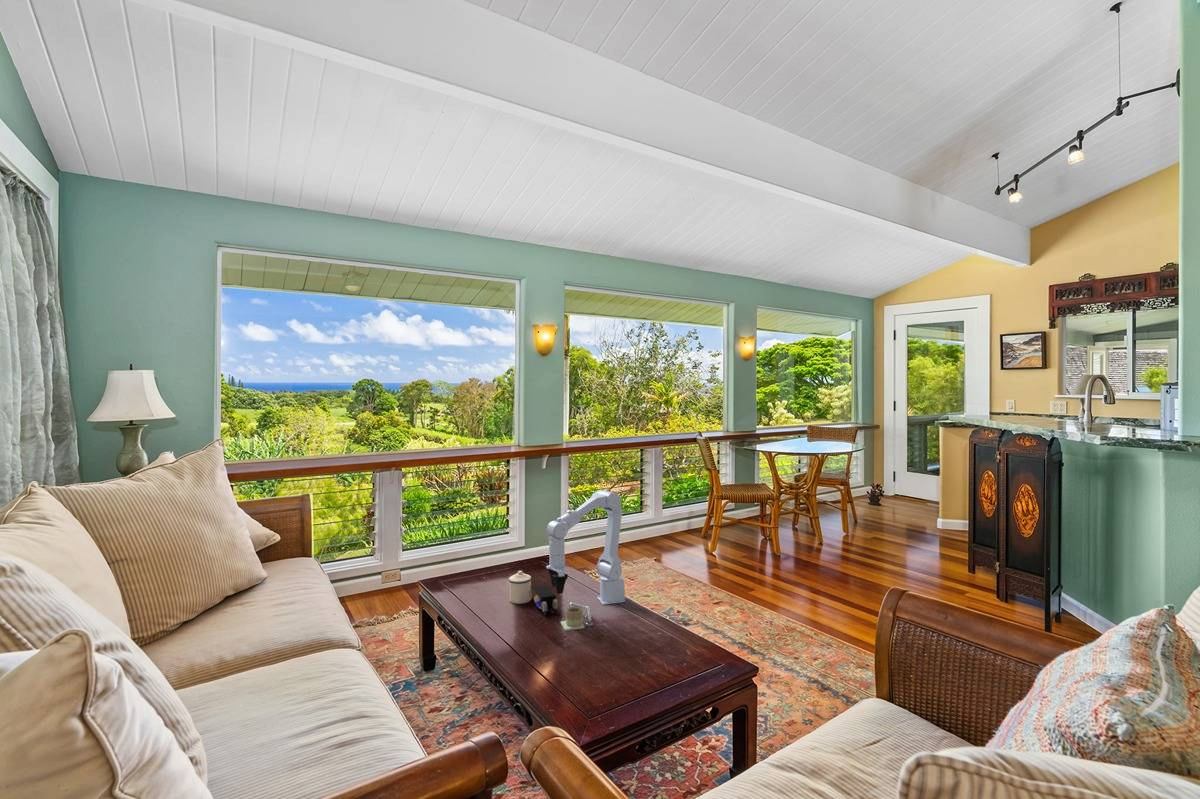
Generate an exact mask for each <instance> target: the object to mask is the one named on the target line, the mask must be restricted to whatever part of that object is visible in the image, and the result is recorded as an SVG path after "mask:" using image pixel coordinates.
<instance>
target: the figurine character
mask: <svg viewBox="0 0 1200 799" xmlns="http://www.w3.org/2000/svg"><path fill="white" fill-rule="evenodd" d="M531 590H533V592H535V595H534V597H533V600H534V604H536V605H535V606H536V607H538V608H539V610H540V611H542V612H543V614H544V615H545V616H547V615H548V614H547V612H550V613H551V615H552V614H554V613H555V611H553V609H554V610H557V609H559V602H558V599H556V597H557V595H556V594H555V593H554V592H553V591H552V589H551V588H550V587H549V585H547V584H543V585H542V584H541V585H536V586H535V585H534V586H531Z"/></svg>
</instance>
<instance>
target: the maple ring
mask: <svg viewBox="0 0 1200 799" xmlns="http://www.w3.org/2000/svg"><path fill="white" fill-rule="evenodd" d="M565 621H566V624H567V626H570V627H578V626H580V625H582V624H583V608H580V607H574V606H573V607H570V606H569V607H568V608H566V609H565Z"/></svg>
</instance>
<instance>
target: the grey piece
mask: <svg viewBox="0 0 1200 799" xmlns="http://www.w3.org/2000/svg"><path fill="white" fill-rule="evenodd" d="M569 607H580V608H581V609H582V610H586V611H585V612H586V613H585V614H584V615H583V618H584V619H586V621H585V622H584V626H586V627H592V626H594V625H595V622H594V621H592V618H593V614H592V613H591V606H590V605H584V604H579V603H574V602H569Z"/></svg>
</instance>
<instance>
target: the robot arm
mask: <svg viewBox="0 0 1200 799" xmlns="http://www.w3.org/2000/svg"><path fill="white" fill-rule="evenodd" d="M621 503H622V497H621V496H620V495H619V494H618V493H617V492H615V491H614V492H612V491H608V490H604V489H598V490H597V491H595V492H593V493H592V494H591V496H590V497H589V498H588V499H587V500H586V501H585V502H584V503H582V504H581V505H580V506H578V507H577V508H576V509H567V511H566V513H564V514H563V515H561V516H560V517H557V518H556V520H552V521H550V522H548V524H547V526H546V528H545V533H546V534H547V536H548V543H549V544H548V545H549V546H548V549H549V552H548V553H549V554H548V555H549V565H546V566H545V568H546V569H547V571H548V573H549V577H550V581H551V585H552V586H551V587H555V591H556V593H557V595H558V594H559V595H560V594H563V593H564V590H565V584H566V581H567V579H568V577H569V575H568V573H565V570H566V563H565V562H566V558H565V556H566V554H565V552H566V551H565V537H566V536H567V534H568V532H569V530H571V529H572V528H574V527H575V526H576V525H578V524H579V523H580V522H581V518H582V517H584V516H585V515H586V514H589V513H590V512H592V511H593V510H595V509H596V508H603V510H604V511H605V512H606V513H607V522H606V529H605V539H604V546H603V547H604V548H603V553H602V554H600V556H598V558H599V559H598V562H597V564H596V565H595V566H596V568H595V569H596V572H597V574H599V576H598V577H599V579H600V580H599V581H600V582H599V584H600V588H599V589H600V590H599V591H600V596H599V595H598V596H597V600H598V601H599V602H600V603H601V604H602V605H611V604H612V605H613V604H619V603H620V604H621V603H626V595H625V594H626V593H625V592H626V590H625V580H624V578H623V577H622V572H623V570H622V561H621V559H620V557H619V555H618V552H619V551H618V550H619V543H620V533H621V526H622V525H621V524H622V516H623V509H622V504H621Z"/></svg>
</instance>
